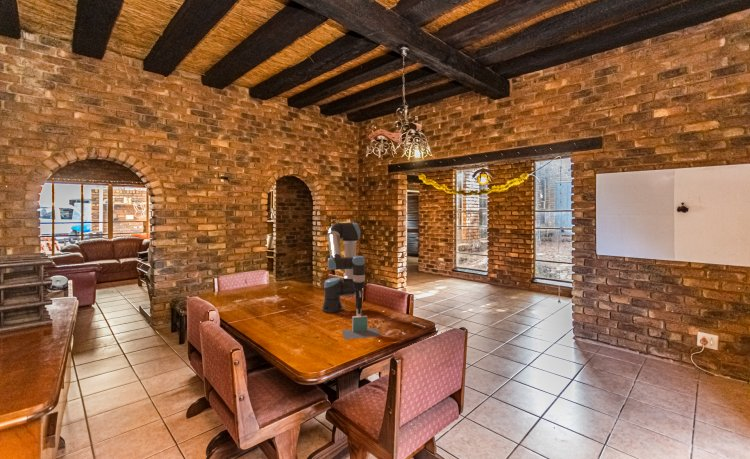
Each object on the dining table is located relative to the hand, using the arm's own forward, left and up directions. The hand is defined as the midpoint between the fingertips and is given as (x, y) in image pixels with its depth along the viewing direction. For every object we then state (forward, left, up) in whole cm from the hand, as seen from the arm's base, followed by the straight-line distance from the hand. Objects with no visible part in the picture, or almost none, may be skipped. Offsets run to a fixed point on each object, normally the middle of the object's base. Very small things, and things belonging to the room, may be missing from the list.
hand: (358, 318), depth 210 cm
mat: (+8, 0, -7) cm, 11 cm away
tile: (+4, 0, -7) cm, 8 cm away
